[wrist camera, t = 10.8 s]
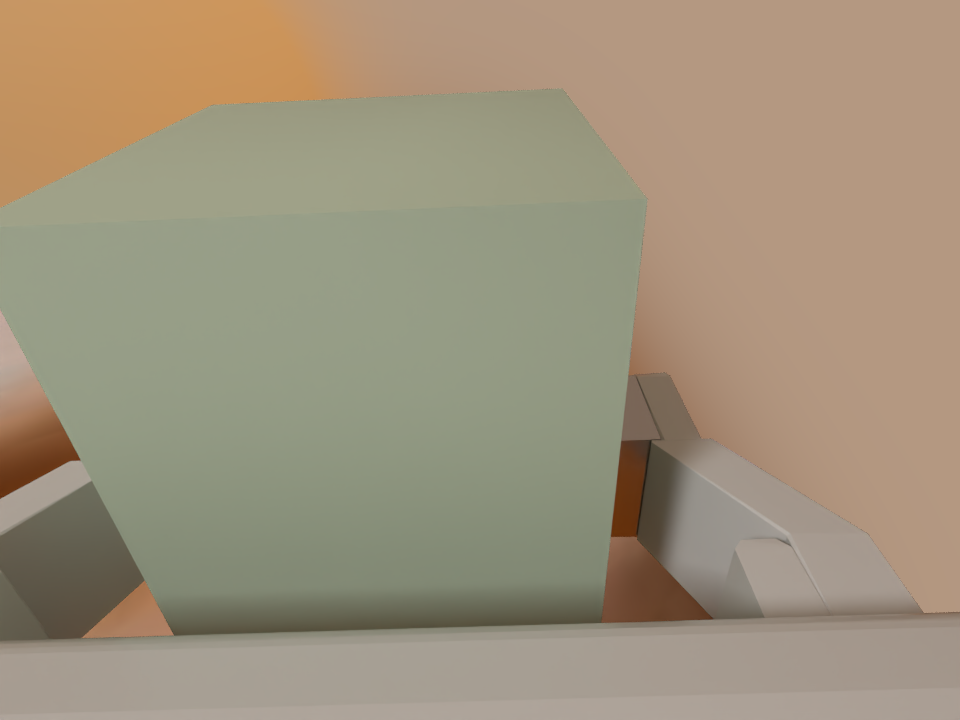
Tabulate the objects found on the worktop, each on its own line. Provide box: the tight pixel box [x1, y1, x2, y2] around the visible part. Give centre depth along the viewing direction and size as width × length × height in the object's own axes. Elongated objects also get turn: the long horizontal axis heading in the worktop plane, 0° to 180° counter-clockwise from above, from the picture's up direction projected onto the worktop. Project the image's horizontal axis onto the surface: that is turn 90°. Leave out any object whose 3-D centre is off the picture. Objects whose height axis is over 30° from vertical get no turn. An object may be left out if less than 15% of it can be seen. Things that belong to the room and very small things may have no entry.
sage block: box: [0, 89, 647, 636], centre depth 9 cm, size 5×5×10 cm
